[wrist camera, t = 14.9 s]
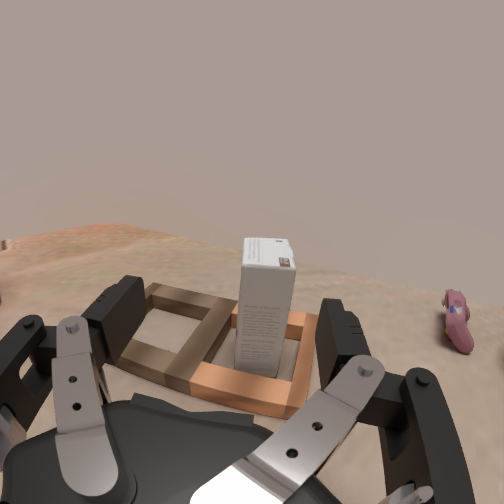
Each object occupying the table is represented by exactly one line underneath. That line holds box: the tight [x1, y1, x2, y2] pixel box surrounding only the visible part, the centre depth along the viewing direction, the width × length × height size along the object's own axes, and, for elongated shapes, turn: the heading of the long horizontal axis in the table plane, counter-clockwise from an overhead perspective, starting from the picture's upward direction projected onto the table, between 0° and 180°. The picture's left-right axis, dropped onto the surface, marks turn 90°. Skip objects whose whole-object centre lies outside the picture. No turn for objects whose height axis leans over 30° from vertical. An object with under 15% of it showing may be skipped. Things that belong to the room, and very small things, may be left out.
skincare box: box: [234, 238, 296, 378], centre depth 26 cm, size 6×4×12 cm
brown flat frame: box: [115, 283, 319, 420], centre depth 29 cm, size 22×14×2 cm, turn 75°
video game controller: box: [442, 288, 474, 354], centre depth 30 cm, size 10×5×7 cm, turn 145°
